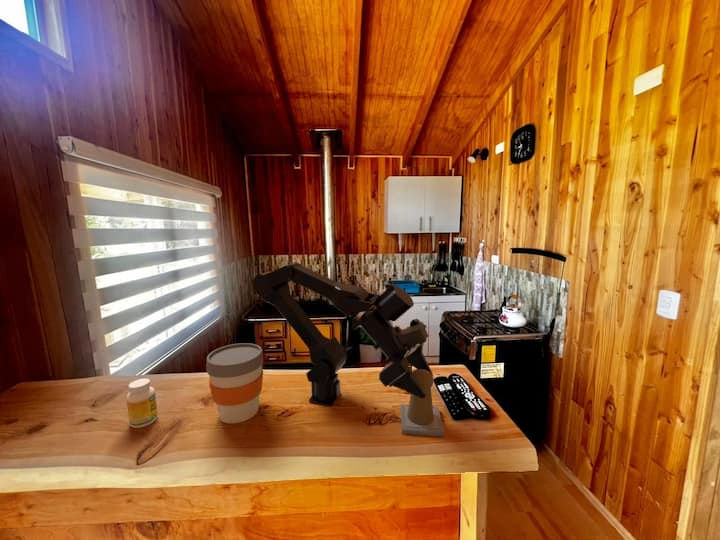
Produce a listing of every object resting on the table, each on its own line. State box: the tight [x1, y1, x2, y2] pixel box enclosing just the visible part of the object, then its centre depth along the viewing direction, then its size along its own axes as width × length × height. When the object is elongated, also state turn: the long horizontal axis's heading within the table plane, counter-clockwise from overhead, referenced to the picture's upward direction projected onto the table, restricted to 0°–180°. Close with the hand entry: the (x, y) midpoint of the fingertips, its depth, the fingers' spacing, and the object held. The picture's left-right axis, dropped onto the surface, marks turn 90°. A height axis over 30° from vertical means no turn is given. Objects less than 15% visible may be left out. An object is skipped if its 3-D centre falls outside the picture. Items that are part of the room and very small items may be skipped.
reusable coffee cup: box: [205, 342, 264, 424], centre depth 72 cm, size 12×13×15 cm
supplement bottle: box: [125, 378, 159, 429], centre depth 69 cm, size 5×5×10 cm
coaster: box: [400, 404, 446, 437], centre depth 69 cm, size 9×9×1 cm
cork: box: [407, 369, 434, 425], centre depth 68 cm, size 6×6×11 cm
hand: (428, 386), depth 67 cm, fingers open, 9 cm apart
